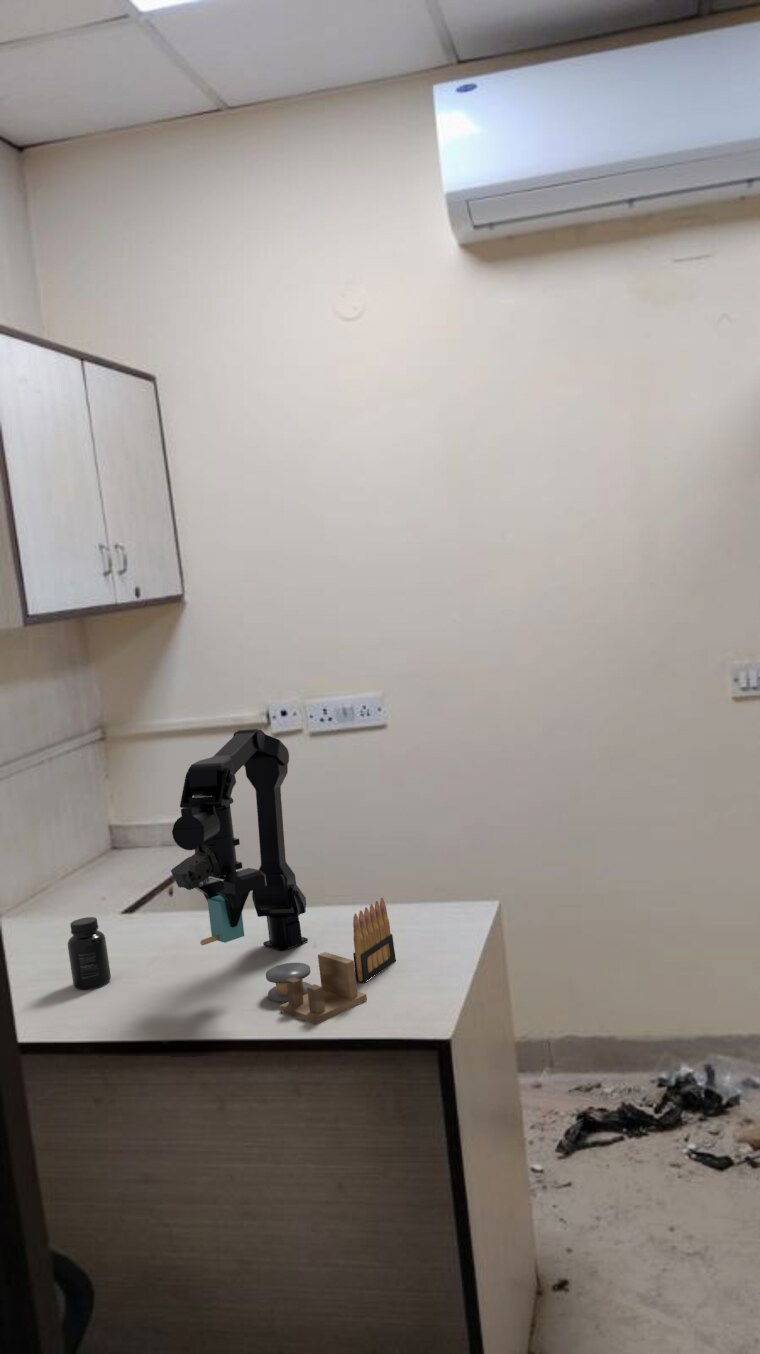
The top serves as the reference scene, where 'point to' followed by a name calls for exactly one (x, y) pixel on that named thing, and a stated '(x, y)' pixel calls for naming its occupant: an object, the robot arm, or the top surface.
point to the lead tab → (221, 922)
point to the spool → (284, 973)
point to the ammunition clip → (372, 942)
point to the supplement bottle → (88, 955)
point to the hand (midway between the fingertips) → (227, 924)
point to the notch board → (325, 991)
